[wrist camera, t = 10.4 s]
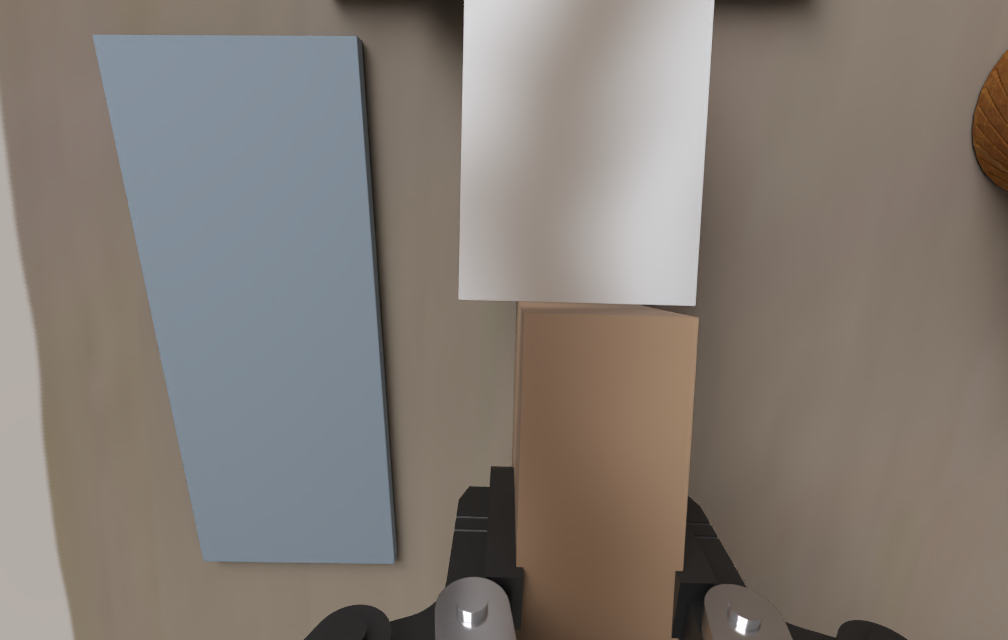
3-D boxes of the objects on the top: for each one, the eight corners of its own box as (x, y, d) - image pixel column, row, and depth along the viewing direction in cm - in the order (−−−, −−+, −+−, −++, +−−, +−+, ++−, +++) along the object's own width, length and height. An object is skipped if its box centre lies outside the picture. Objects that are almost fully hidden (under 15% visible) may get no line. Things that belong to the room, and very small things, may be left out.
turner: (699, -5, 13) (826, -187, 8) (658, 677, 14) (741, 891, 9) (468, -11, 13) (444, -199, 8) (454, 672, 14) (428, 883, 9)
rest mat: (361, 40, 17) (356, 36, 16) (397, 554, 23) (394, 563, 23) (106, 39, 17) (92, 34, 17) (210, 551, 24) (203, 561, 23)
